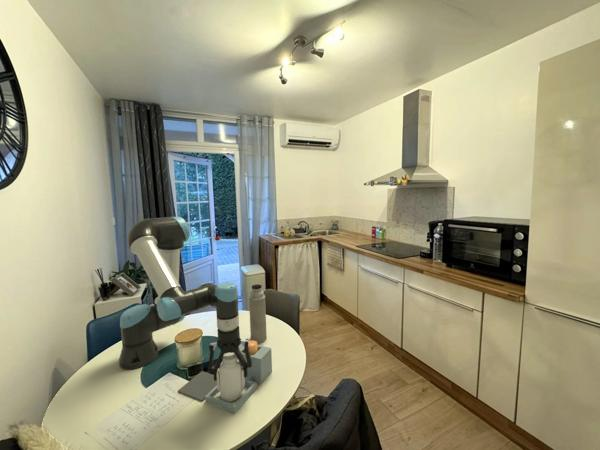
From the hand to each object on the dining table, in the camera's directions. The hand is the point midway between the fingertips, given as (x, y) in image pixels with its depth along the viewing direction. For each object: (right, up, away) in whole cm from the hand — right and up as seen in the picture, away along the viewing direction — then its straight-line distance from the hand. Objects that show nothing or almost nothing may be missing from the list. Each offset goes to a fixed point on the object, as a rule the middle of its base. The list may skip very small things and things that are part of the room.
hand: (231, 386), depth 96 cm
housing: (+2, -3, +5) cm, 6 cm away
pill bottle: (0, -3, 0) cm, 3 cm away
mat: (-13, -3, +5) cm, 14 cm away
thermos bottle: (+4, +1, +38) cm, 38 cm away
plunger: (+5, +4, +11) cm, 13 cm away
